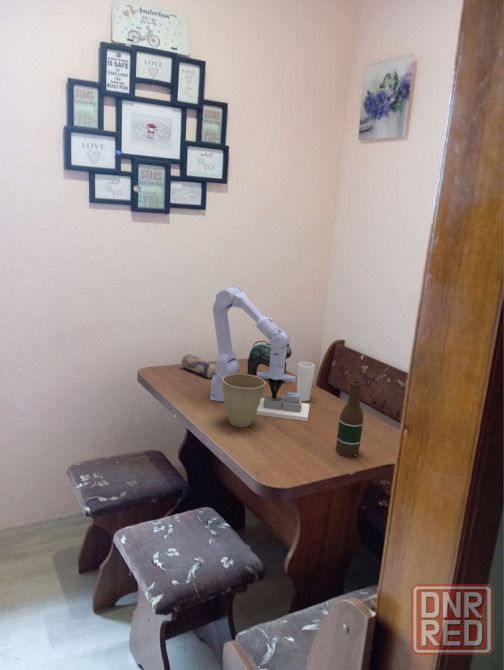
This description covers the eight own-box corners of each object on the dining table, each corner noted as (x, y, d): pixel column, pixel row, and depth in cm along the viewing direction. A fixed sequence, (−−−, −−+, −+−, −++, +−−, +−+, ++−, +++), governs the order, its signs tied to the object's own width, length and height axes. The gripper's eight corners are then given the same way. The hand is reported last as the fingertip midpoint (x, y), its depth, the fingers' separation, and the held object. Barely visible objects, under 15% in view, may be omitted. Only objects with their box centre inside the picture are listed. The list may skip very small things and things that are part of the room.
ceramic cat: (289, 382, 237) (293, 338, 232) (282, 386, 232) (286, 341, 227) (251, 372, 247) (255, 329, 242) (243, 375, 242) (247, 332, 237)
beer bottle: (332, 446, 178) (341, 377, 172) (355, 447, 178) (364, 378, 173) (338, 457, 170) (347, 385, 164) (362, 458, 171) (372, 386, 165)
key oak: (267, 405, 202) (267, 398, 202) (268, 401, 207) (269, 394, 206) (278, 406, 202) (279, 400, 201) (279, 402, 206) (280, 396, 205)
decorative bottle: (179, 369, 243) (180, 355, 242) (192, 366, 249) (193, 352, 247) (219, 385, 227) (220, 370, 225) (231, 381, 232) (232, 367, 231)
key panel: (253, 414, 199) (254, 402, 198) (258, 400, 212) (259, 390, 211) (307, 421, 196) (308, 409, 195) (309, 407, 210) (310, 396, 209)
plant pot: (230, 434, 180) (233, 389, 176) (212, 417, 193) (215, 375, 189) (269, 429, 187) (273, 385, 183) (249, 412, 200) (253, 372, 196)
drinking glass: (310, 403, 214) (314, 367, 210) (293, 401, 215) (297, 365, 212) (311, 397, 220) (315, 363, 217) (295, 395, 222) (299, 360, 218)
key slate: (286, 402, 201) (286, 395, 200) (287, 398, 205) (287, 391, 205) (297, 403, 200) (298, 397, 200) (298, 399, 205) (299, 393, 204)
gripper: (256, 364, 197) (253, 399, 201) (295, 369, 196) (292, 403, 199) (259, 359, 204) (256, 392, 207) (297, 363, 202) (293, 397, 206)
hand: (274, 397), depth 204 cm, fingers closed, pressing on key oak
